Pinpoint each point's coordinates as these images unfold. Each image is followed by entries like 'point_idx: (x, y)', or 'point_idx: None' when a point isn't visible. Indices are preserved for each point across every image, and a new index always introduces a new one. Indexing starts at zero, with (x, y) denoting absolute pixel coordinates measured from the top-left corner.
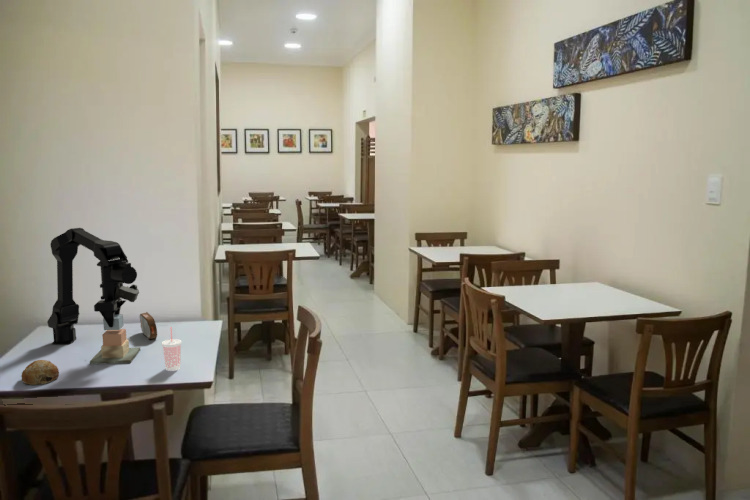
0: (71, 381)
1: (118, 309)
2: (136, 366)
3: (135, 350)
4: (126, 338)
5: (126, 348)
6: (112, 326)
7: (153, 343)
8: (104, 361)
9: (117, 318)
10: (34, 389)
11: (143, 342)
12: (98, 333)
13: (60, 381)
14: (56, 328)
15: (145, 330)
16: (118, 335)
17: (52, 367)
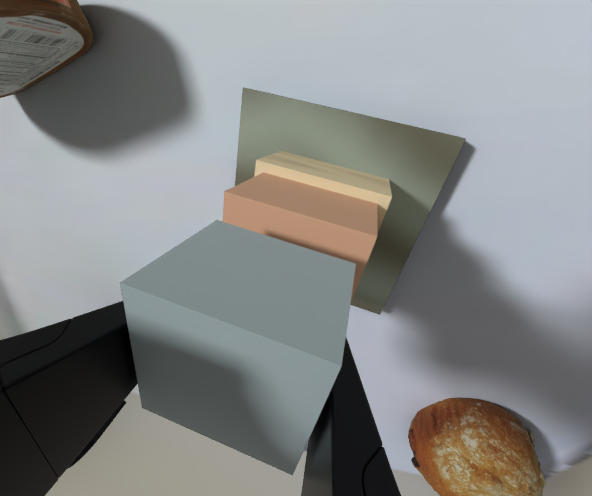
0: (573, 378)
1: (40, 380)
2: (561, 95)
3: (290, 114)
4: (259, 174)
5: (321, 167)
6: (347, 342)
7: (148, 12)
8: (403, 264)
9: (335, 377)
10: (570, 460)
11: (134, 80)
12: (58, 256)
13: (539, 401)
14: (123, 402)
15: (17, 69)
16: (369, 250)
17: (523, 465)
